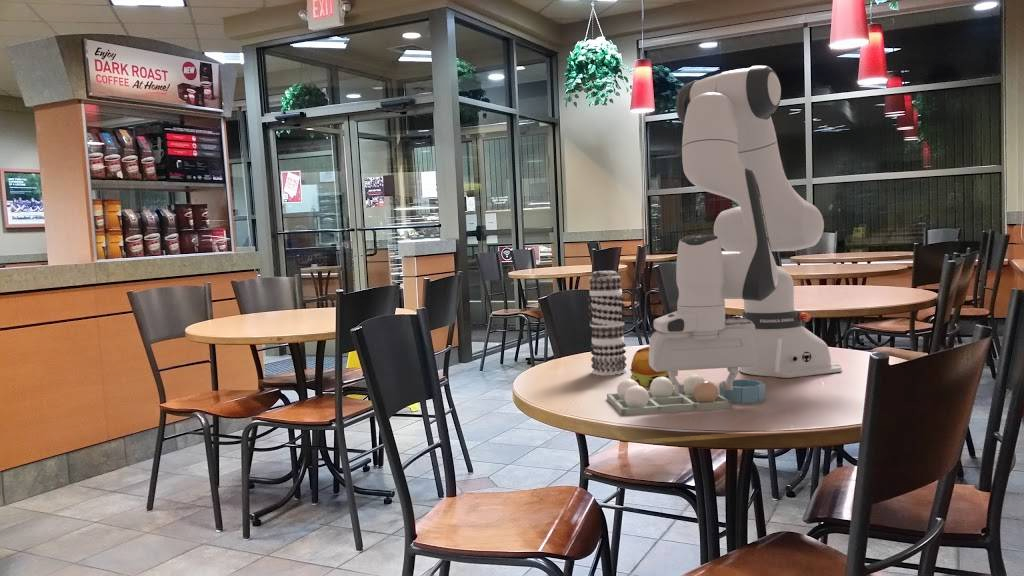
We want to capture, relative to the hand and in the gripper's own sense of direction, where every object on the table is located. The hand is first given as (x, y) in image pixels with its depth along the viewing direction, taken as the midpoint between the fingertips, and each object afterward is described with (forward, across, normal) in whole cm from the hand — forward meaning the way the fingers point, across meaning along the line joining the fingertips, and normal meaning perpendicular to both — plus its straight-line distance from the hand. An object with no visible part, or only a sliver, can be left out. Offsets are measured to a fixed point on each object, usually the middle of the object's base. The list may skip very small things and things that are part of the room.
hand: (703, 391), depth 145 cm
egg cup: (+3, -9, -4) cm, 10 cm away
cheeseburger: (+3, +4, -23) cm, 24 cm away
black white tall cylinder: (+3, +10, -43) cm, 44 cm away
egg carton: (+3, +6, -3) cm, 8 cm away
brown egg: (+2, 0, 0) cm, 3 cm away
